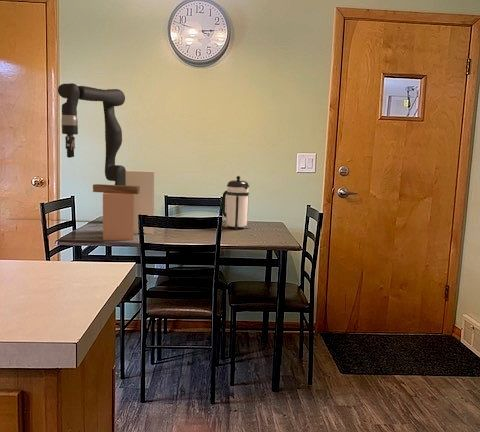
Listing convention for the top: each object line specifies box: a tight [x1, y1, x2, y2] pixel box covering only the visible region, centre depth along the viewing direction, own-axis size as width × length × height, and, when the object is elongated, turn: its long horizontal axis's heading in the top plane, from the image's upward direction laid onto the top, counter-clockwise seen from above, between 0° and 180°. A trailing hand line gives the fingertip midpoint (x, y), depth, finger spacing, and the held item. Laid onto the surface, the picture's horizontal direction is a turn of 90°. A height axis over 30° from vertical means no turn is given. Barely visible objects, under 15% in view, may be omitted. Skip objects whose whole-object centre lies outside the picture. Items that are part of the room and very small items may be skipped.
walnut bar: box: [92, 183, 140, 194], centre depth 214 cm, size 4×22×4 cm, turn 83°
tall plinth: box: [126, 169, 155, 235], centre depth 231 cm, size 10×14×32 cm
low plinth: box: [102, 192, 135, 241], centre depth 215 cm, size 10×14×22 cm
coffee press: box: [221, 175, 250, 231], centre depth 255 cm, size 17×16×30 cm
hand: (70, 157), depth 225 cm, fingers open, 8 cm apart
